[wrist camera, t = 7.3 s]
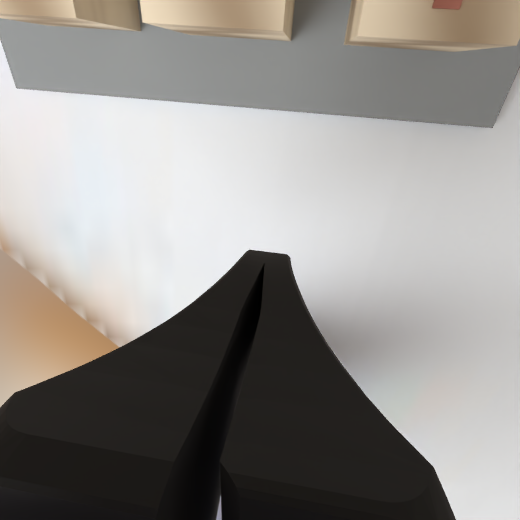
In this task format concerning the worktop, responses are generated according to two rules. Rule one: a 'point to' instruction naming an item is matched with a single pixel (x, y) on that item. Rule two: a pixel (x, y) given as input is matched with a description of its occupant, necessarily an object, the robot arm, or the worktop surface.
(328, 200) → the worktop surface
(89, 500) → the robot arm
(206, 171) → the worktop surface
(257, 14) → the plain block
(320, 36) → the slate mat
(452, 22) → the block one
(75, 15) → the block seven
